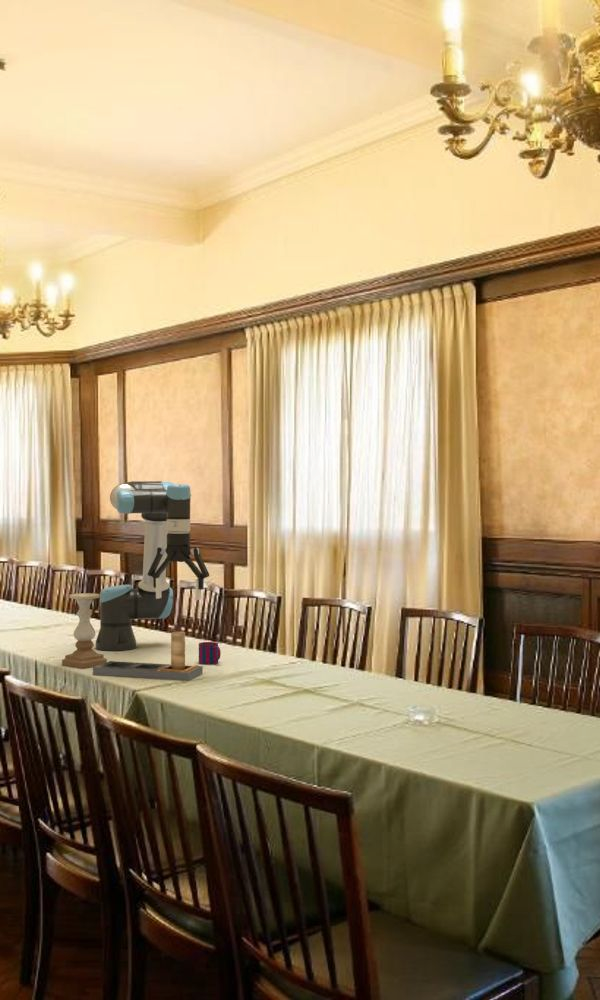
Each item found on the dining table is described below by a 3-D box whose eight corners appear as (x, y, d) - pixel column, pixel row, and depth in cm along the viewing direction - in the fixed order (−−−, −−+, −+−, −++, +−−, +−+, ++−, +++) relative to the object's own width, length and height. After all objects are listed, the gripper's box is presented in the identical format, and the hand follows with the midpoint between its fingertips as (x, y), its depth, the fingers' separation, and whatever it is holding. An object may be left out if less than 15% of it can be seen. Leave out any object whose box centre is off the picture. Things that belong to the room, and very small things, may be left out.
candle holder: (82, 668, 335) (82, 597, 335) (61, 665, 342) (61, 594, 342) (107, 664, 344) (107, 594, 344) (86, 661, 351) (86, 592, 350)
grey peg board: (109, 668, 336) (109, 660, 336) (202, 674, 327) (202, 665, 327) (92, 674, 324) (92, 666, 324) (188, 680, 315) (188, 671, 315)
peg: (174, 674, 325) (174, 631, 325) (187, 675, 324) (187, 632, 324) (168, 677, 321) (169, 633, 321) (181, 677, 320) (181, 633, 320)
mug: (212, 660, 352) (212, 641, 352) (226, 665, 344) (226, 645, 344) (195, 662, 349) (195, 642, 349) (208, 666, 340) (209, 646, 340)
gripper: (137, 532, 322) (137, 598, 322) (210, 533, 315) (210, 601, 316) (147, 531, 329) (147, 596, 330) (219, 532, 322) (219, 599, 323)
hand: (178, 599), depth 323 cm, fingers open, 13 cm apart
